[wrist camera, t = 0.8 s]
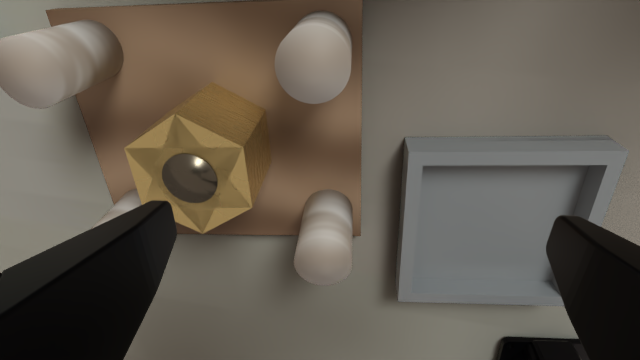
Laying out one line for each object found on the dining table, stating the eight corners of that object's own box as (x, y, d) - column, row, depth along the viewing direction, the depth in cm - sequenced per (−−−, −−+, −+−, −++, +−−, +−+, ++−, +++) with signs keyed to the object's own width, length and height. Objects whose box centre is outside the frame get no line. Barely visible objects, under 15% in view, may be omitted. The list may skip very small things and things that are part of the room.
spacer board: (360, 228, 26) (361, 293, 21) (129, 226, 27) (79, 286, 22) (362, -4, 19) (364, 9, 14) (56, 8, 21) (-41, 24, 16)
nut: (274, 184, 24) (256, 235, 20) (187, 184, 24) (150, 233, 20) (262, 80, 21) (237, 113, 16) (162, 82, 21) (112, 115, 17)
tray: (557, 283, 27) (571, 306, 25) (395, 280, 28) (397, 301, 26) (607, 135, 22) (629, 150, 20) (404, 137, 23) (408, 152, 21)
